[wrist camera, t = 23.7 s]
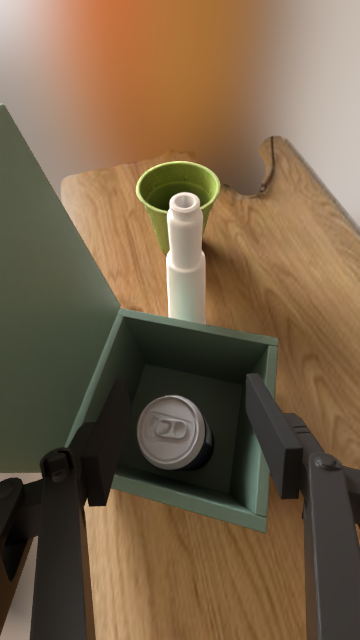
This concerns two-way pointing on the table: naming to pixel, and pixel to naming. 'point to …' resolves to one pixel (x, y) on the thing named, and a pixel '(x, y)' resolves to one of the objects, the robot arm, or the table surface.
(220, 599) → the table surface
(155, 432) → the beverage can
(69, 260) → the lid
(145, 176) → the plant pot
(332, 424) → the table surface
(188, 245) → the cosmetic bottle
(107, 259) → the table surface
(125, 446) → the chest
